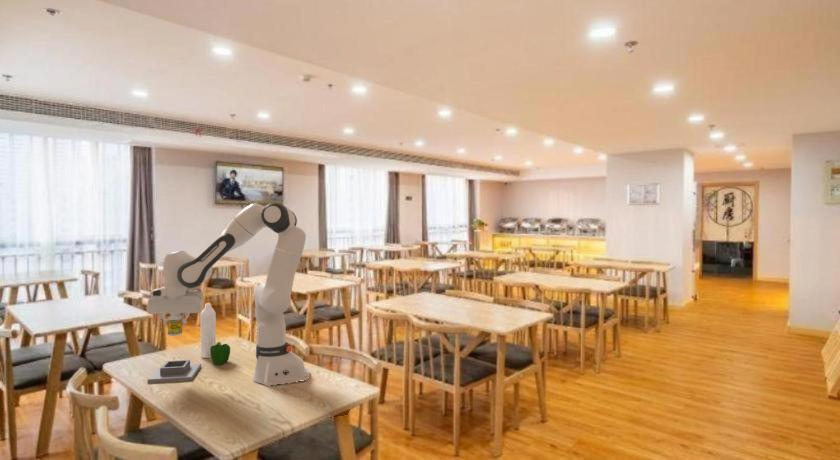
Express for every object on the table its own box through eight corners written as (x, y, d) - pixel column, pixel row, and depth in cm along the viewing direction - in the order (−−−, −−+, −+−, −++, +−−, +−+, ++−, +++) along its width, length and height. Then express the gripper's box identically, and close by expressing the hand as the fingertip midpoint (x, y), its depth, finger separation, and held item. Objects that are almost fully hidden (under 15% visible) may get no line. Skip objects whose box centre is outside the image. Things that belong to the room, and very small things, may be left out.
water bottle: (213, 353, 222) (213, 301, 221) (217, 356, 217) (217, 303, 215) (193, 356, 216) (193, 303, 215) (197, 360, 211) (197, 305, 210)
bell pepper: (219, 358, 214) (219, 337, 213) (234, 361, 211) (234, 339, 211) (205, 364, 206) (205, 342, 206) (220, 367, 203) (220, 344, 203)
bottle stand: (200, 366, 203) (200, 356, 203) (191, 380, 188) (191, 369, 187) (160, 368, 200) (160, 358, 199) (147, 383, 184) (147, 371, 184)
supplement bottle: (181, 332, 195) (181, 309, 195) (183, 334, 191) (183, 311, 190) (166, 333, 192) (167, 310, 192) (168, 336, 188) (168, 312, 187)
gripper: (204, 288, 196) (204, 321, 197) (150, 289, 192) (150, 322, 192) (201, 291, 190) (200, 325, 191) (145, 292, 185) (145, 326, 186)
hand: (175, 323), depth 191 cm, fingers closed on supplement bottle, 5 cm apart
